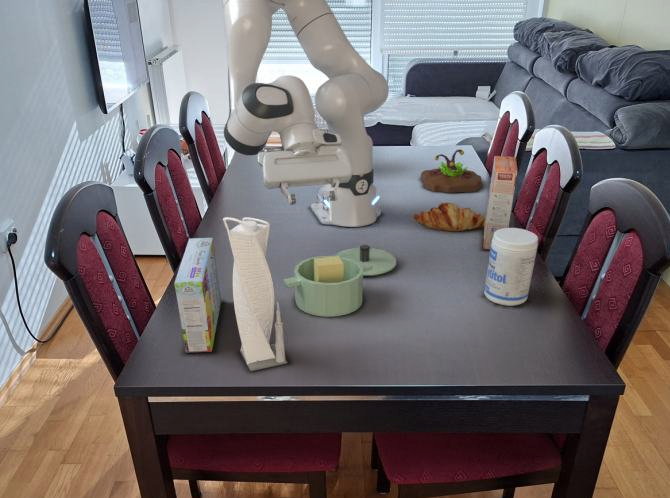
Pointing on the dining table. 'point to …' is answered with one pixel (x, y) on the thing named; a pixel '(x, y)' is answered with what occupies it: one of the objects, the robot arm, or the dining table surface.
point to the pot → (328, 288)
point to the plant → (451, 177)
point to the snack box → (198, 295)
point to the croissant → (450, 218)
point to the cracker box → (500, 197)
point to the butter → (328, 269)
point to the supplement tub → (510, 266)
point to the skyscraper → (254, 295)
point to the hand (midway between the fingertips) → (313, 201)
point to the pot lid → (371, 258)
